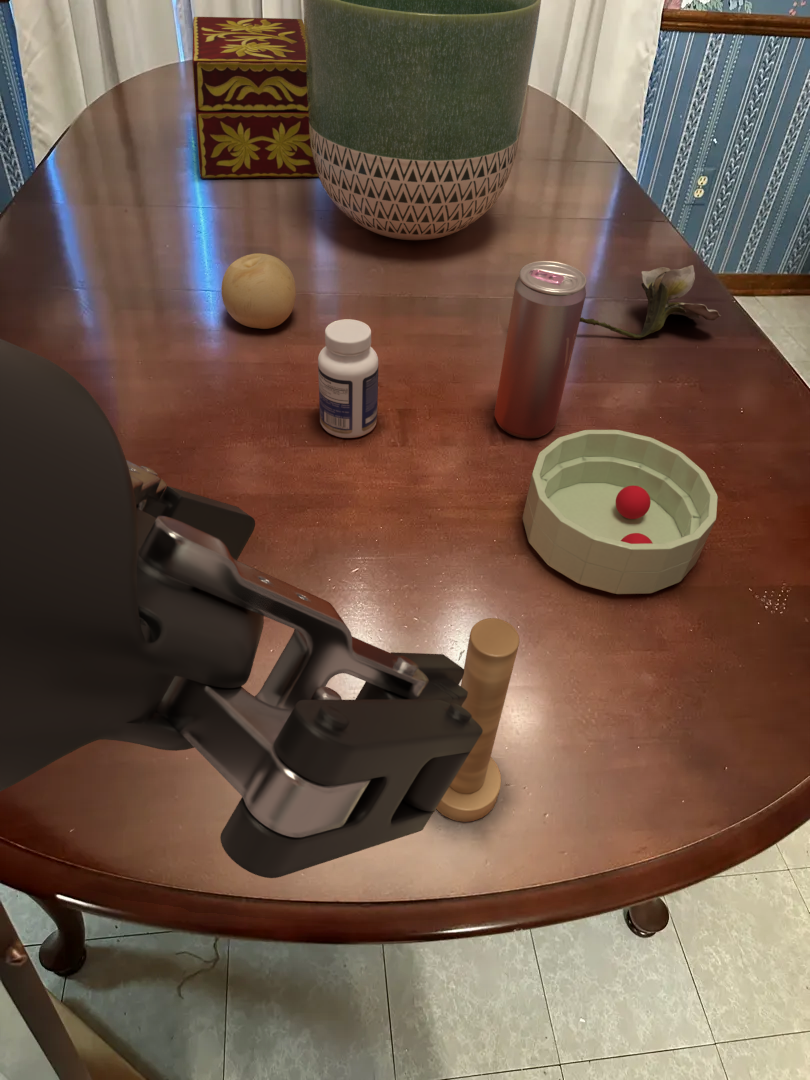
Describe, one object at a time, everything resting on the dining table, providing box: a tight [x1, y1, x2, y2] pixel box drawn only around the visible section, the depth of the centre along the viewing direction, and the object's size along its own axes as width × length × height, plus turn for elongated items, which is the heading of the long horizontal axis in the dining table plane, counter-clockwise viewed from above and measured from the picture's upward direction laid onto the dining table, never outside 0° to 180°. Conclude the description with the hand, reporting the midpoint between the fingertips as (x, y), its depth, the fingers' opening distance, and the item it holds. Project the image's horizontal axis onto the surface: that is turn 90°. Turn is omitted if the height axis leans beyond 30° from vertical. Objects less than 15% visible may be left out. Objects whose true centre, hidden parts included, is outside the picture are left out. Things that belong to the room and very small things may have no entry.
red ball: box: [621, 533, 652, 544], centre depth 61 cm, size 3×3×3 cm
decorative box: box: [191, 16, 319, 180], centre depth 120 cm, size 28×19×15 cm
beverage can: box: [493, 260, 587, 440], centre depth 71 cm, size 6×6×15 cm
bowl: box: [522, 429, 719, 595], centre depth 63 cm, size 14×14×6 cm
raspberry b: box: [616, 485, 651, 519], centre depth 65 cm, size 3×3×3 cm
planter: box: [302, 0, 542, 241], centre depth 97 cm, size 27×27×27 cm
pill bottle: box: [317, 318, 379, 439], centre depth 71 cm, size 5×5×10 cm
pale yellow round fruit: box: [220, 252, 297, 330], centre depth 85 cm, size 8×8×8 cm
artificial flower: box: [579, 264, 722, 340], centre depth 87 cm, size 9×22×10 cm, turn 97°
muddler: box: [435, 617, 520, 823], centre depth 43 cm, size 4×4×15 cm
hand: (329, 612), depth 24 cm, fingers open, 8 cm apart
